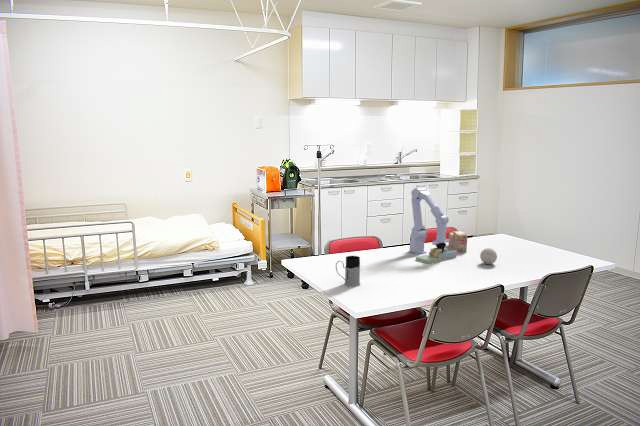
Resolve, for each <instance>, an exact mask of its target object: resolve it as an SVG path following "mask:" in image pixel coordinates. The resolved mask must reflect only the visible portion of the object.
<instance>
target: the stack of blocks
mask: <svg viewBox="0 0 640 426" xmlns="http://www.w3.org/2000/svg"><path fill="white" fill-rule="evenodd" d="M448 239H450V242H448V246H449V247H450V248H451V249H453V251H455V250H456V251H457V252H456V253H467V247H468V246H467V245H468V234H466V233H465V232H464V231H462V230H461V231H459V230H458V231H456V230H453V231H452V232H448Z"/></svg>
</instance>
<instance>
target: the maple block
mask: <svg viewBox="0 0 640 426" xmlns="http://www.w3.org/2000/svg"><path fill="white" fill-rule="evenodd" d="M429 252H430V256H431V257H435V258H437V257H438V254H440V253H442V249H439V248H437V247H432V248H430V250H429Z"/></svg>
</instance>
